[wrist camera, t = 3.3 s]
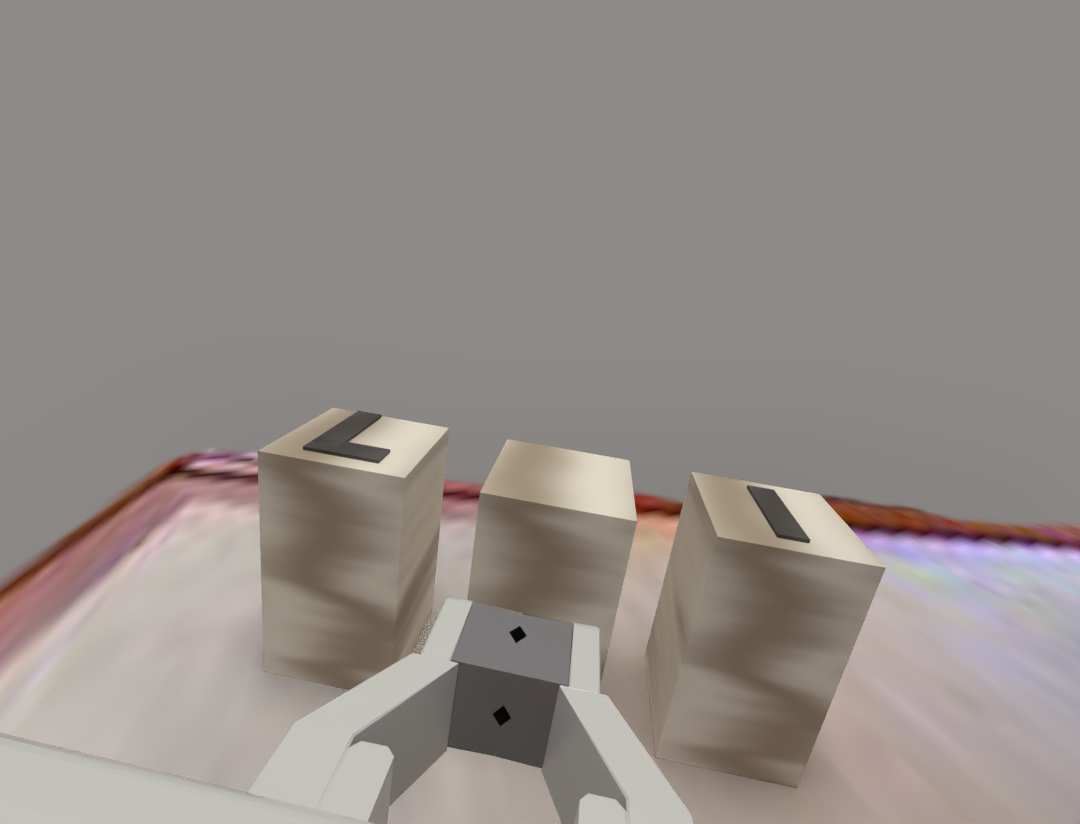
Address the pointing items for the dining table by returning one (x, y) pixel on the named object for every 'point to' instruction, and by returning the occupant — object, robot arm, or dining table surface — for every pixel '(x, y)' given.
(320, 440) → the block seven
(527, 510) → the plain block
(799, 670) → the block one
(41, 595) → the dining table surface
